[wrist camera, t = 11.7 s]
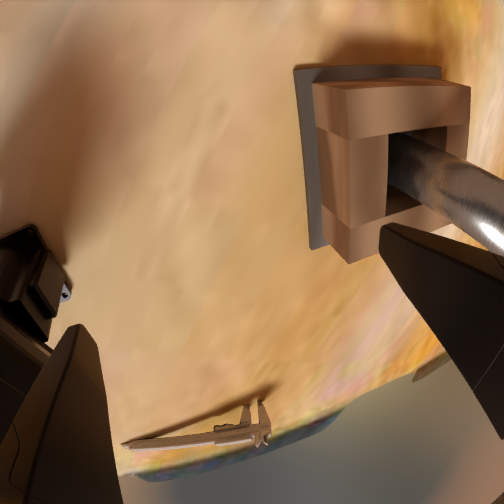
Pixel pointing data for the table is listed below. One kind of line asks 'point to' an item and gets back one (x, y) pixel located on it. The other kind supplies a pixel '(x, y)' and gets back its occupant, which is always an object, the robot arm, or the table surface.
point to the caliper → (213, 434)
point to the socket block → (371, 147)
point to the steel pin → (449, 188)
